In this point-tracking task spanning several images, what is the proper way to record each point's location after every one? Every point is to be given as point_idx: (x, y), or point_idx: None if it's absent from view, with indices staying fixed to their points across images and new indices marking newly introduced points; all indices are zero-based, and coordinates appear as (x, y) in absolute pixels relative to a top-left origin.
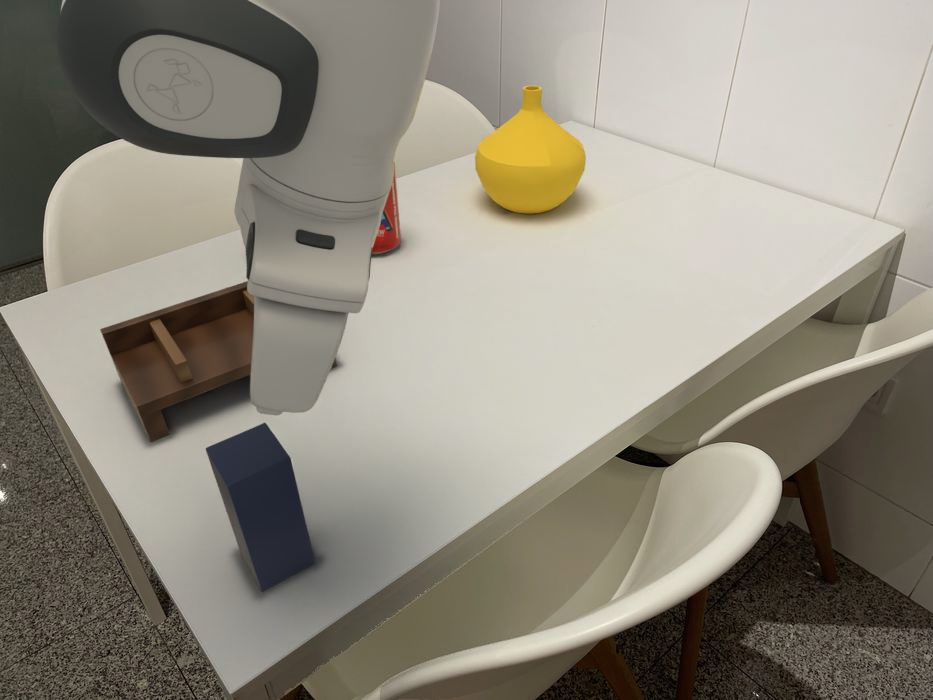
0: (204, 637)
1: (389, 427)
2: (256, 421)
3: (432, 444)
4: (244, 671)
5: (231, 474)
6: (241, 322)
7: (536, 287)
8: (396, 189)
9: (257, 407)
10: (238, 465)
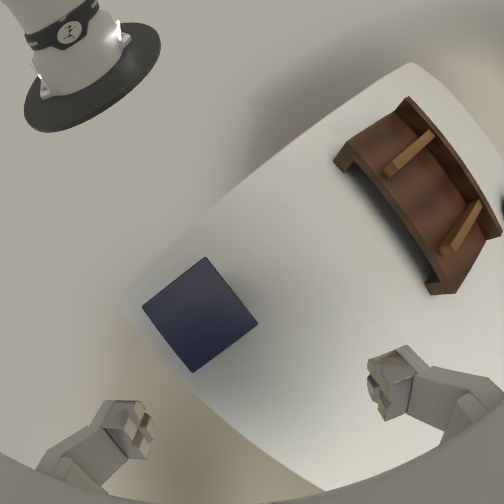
0: (144, 269)
1: (364, 366)
2: (367, 242)
3: (342, 405)
4: (122, 305)
5: (159, 306)
6: (454, 204)
7: None
8: None
9: (102, 405)
10: (174, 311)
